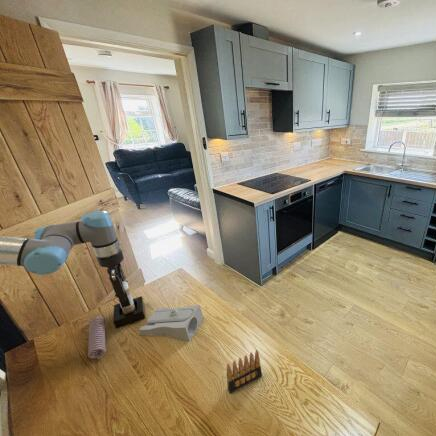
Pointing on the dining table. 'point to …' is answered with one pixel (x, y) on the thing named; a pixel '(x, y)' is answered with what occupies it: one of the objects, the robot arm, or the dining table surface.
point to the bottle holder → (129, 314)
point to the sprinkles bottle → (131, 307)
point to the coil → (96, 338)
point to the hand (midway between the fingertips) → (126, 302)
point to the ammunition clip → (241, 378)
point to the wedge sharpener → (174, 322)
